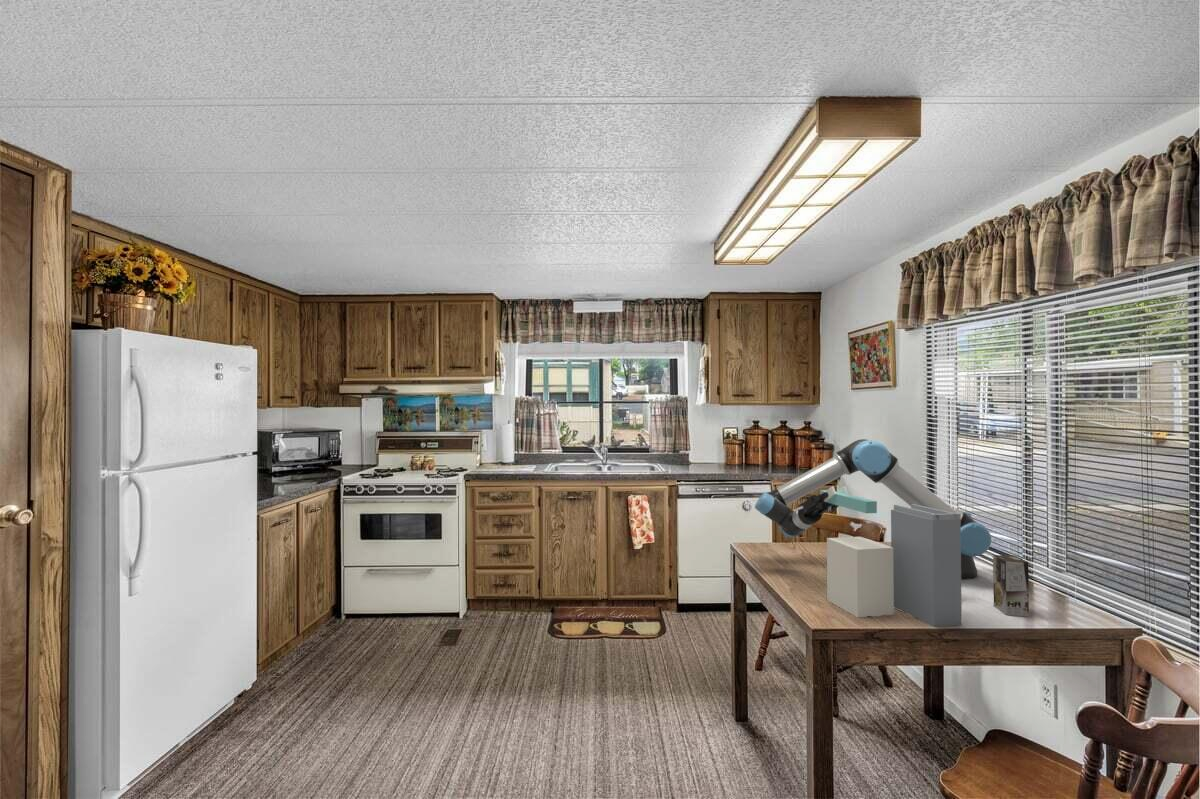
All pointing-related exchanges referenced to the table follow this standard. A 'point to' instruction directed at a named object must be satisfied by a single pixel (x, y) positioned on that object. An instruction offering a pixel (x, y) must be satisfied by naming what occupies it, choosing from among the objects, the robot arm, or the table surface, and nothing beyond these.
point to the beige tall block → (860, 576)
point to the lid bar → (853, 502)
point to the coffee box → (1011, 585)
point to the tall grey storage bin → (927, 564)
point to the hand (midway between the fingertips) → (839, 490)
